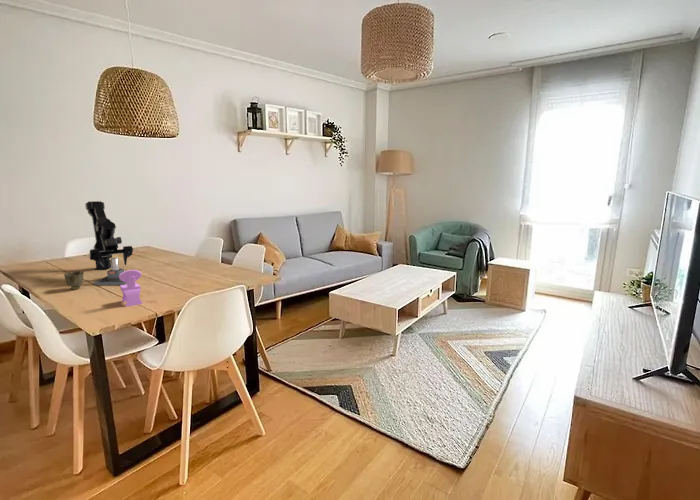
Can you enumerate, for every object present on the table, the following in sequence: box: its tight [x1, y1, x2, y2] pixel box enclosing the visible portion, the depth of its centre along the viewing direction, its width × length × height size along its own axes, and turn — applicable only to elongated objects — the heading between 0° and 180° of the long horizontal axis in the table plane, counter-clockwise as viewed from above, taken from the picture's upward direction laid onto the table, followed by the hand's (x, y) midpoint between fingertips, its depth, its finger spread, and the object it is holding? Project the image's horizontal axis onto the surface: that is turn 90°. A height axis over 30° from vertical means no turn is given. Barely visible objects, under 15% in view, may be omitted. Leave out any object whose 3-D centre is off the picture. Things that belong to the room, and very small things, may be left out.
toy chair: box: [119, 269, 143, 308], centre depth 158 cm, size 8×9×15 cm
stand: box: [93, 268, 127, 286], centre depth 189 cm, size 14×14×6 cm
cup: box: [63, 270, 85, 291], centre depth 175 cm, size 8×7×8 cm
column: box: [110, 257, 120, 271], centre depth 188 cm, size 4×4×12 cm
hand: (115, 265), depth 187 cm, fingers open, 9 cm apart
